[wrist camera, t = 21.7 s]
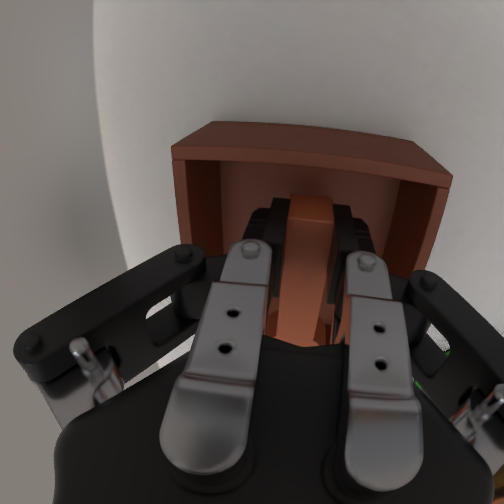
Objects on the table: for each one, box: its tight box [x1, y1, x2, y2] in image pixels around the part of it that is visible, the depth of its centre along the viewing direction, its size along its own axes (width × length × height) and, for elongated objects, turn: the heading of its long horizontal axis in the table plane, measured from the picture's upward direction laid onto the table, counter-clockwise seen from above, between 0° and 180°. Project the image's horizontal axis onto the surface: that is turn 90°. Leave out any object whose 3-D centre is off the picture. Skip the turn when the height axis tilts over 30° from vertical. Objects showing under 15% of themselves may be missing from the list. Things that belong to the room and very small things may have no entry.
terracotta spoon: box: [266, 193, 335, 347], centre depth 14 cm, size 10×4×2 cm, turn 0°
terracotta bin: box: [171, 121, 453, 345], centre depth 17 cm, size 14×11×6 cm
